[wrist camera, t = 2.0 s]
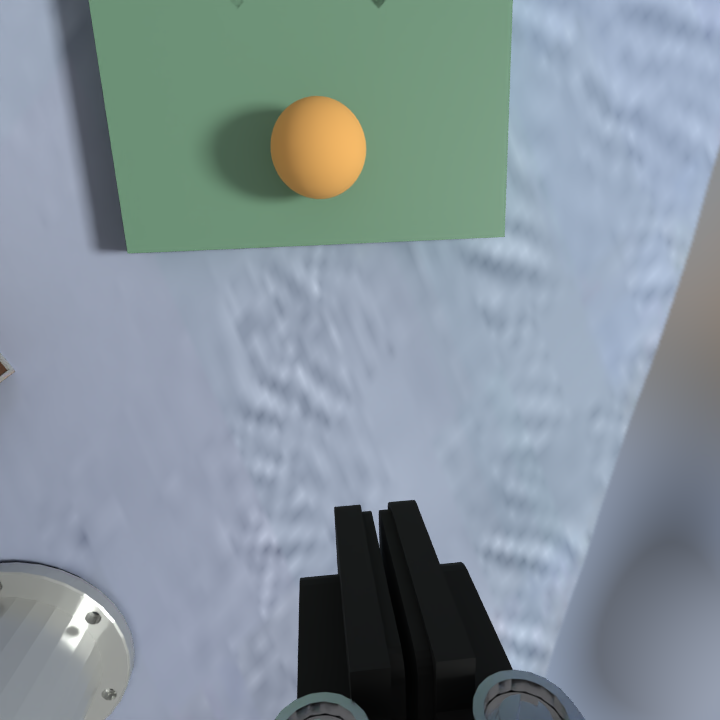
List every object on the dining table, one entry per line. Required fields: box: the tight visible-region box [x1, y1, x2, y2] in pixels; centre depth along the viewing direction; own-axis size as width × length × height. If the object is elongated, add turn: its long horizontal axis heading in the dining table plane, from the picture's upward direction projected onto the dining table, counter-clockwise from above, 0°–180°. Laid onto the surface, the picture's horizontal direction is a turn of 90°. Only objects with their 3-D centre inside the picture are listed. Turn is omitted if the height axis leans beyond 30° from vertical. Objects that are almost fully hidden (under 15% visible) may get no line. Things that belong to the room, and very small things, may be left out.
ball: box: [271, 96, 366, 199], centre depth 21 cm, size 4×4×4 cm
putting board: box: [89, 0, 513, 253], centre depth 23 cm, size 20×18×2 cm
